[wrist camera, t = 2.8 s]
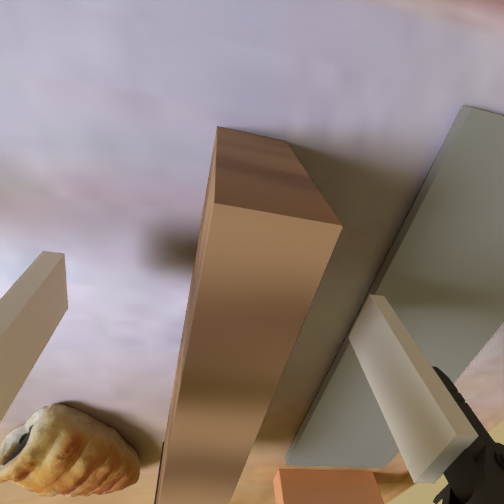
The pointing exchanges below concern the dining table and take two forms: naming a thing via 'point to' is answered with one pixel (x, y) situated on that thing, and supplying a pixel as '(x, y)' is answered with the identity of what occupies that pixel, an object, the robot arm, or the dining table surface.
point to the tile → (326, 487)
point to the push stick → (241, 310)
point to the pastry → (67, 455)
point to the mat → (424, 293)
